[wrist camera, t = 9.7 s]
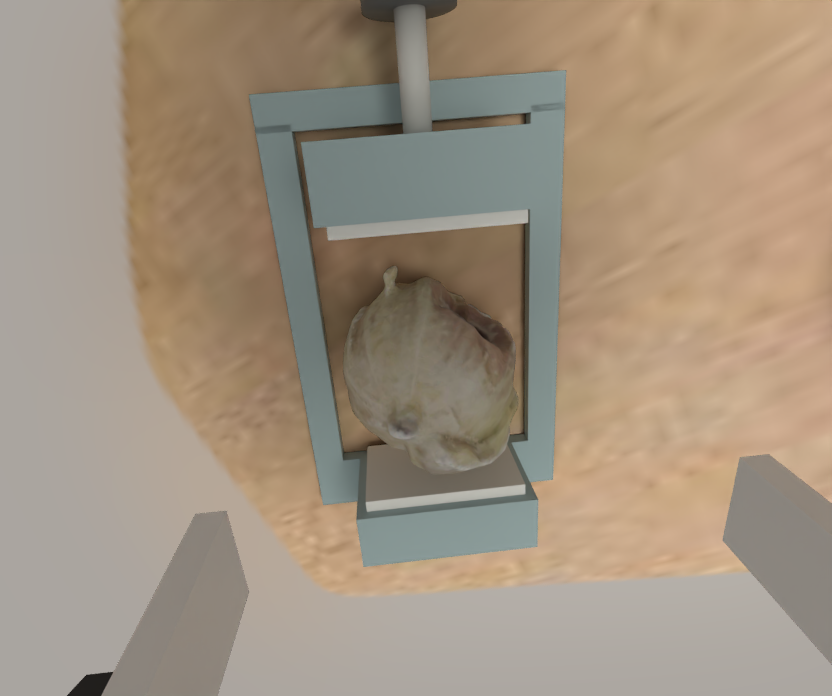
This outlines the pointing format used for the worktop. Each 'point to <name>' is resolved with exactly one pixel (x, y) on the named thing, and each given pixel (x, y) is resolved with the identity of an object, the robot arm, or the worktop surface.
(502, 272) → the worktop surface
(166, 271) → the worktop surface
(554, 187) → the vise
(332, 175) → the jaw
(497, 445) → the garlic bulb
